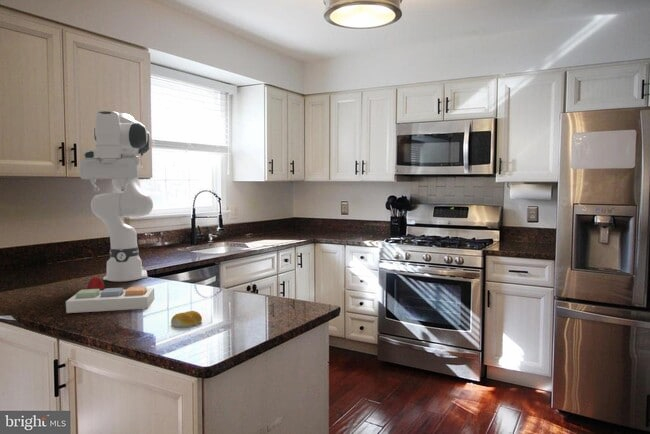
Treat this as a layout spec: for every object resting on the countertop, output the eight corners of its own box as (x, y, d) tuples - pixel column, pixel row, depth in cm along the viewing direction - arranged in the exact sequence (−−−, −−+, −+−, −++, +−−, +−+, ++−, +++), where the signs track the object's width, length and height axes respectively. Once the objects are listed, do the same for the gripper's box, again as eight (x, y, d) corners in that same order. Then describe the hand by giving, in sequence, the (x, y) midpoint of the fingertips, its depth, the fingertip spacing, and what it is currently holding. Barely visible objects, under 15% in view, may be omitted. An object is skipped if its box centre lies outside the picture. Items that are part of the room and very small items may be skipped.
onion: (86, 297, 177) (85, 277, 177) (89, 294, 183) (88, 274, 182) (103, 296, 179) (102, 276, 178) (105, 293, 184) (105, 273, 184)
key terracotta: (129, 295, 170) (128, 287, 170) (146, 294, 171) (146, 286, 171) (125, 299, 164) (125, 291, 164) (143, 298, 165) (143, 290, 165)
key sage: (81, 297, 167) (81, 289, 166) (99, 296, 168) (99, 288, 168) (76, 302, 161) (75, 293, 161) (95, 301, 162) (94, 292, 162)
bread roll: (207, 322, 146) (206, 310, 145) (183, 330, 138) (182, 317, 138) (190, 318, 150) (189, 306, 150) (166, 325, 143) (165, 312, 143)
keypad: (79, 302, 170) (79, 291, 170) (154, 298, 175) (154, 288, 175) (66, 313, 157) (65, 301, 156) (147, 308, 162) (147, 297, 161)
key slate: (105, 296, 168) (105, 288, 168) (123, 295, 169) (123, 287, 169) (101, 300, 162) (100, 292, 162) (119, 299, 164) (119, 291, 163)
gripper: (140, 154, 179) (141, 191, 180) (82, 154, 175) (84, 191, 176) (136, 153, 173) (137, 191, 173) (77, 153, 169) (78, 191, 170)
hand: (110, 191), depth 175 cm, fingers open, 8 cm apart
